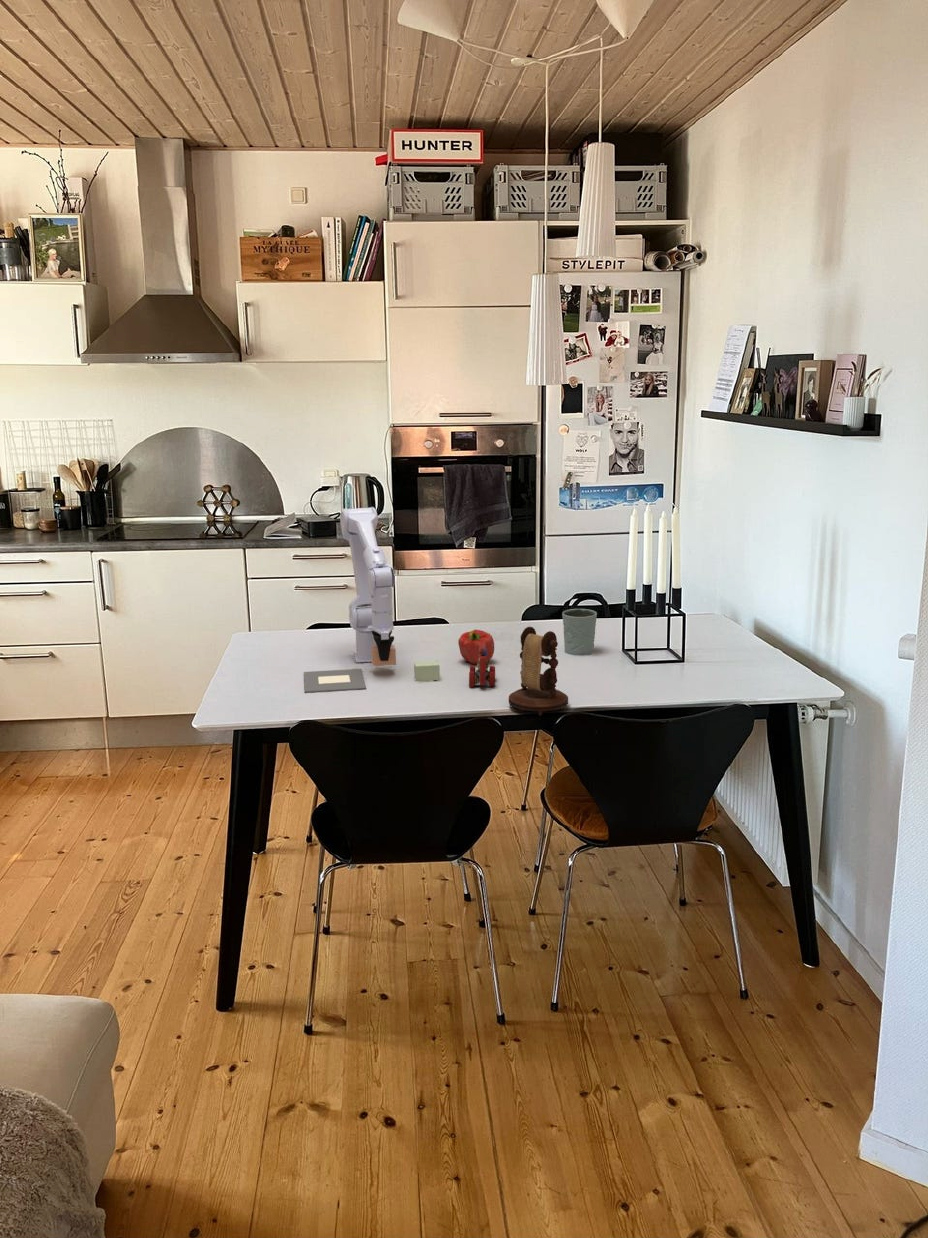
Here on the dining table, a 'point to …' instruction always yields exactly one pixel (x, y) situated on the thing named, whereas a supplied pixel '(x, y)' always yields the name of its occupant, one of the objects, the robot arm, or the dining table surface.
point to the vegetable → (475, 645)
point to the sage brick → (426, 670)
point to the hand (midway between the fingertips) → (383, 658)
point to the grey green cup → (579, 631)
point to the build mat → (334, 680)
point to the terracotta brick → (376, 659)
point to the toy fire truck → (482, 670)
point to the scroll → (538, 674)
